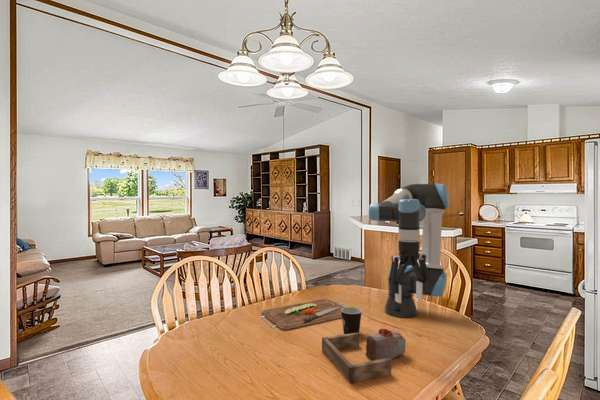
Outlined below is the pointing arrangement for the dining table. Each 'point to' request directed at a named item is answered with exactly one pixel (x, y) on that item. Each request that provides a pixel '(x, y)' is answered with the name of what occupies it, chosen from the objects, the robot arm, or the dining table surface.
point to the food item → (385, 344)
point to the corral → (357, 370)
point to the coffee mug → (351, 319)
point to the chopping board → (303, 314)
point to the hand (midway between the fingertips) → (408, 300)
